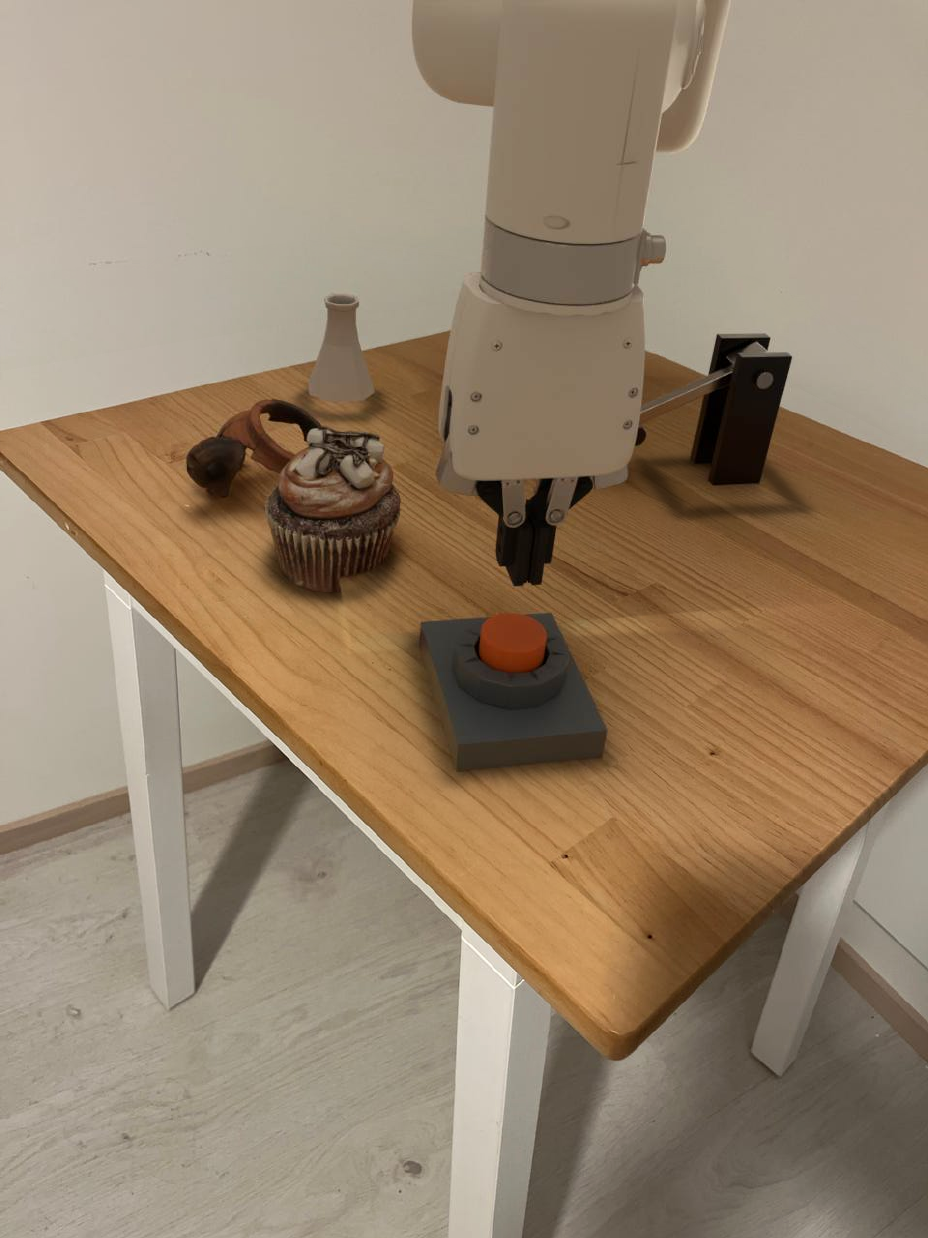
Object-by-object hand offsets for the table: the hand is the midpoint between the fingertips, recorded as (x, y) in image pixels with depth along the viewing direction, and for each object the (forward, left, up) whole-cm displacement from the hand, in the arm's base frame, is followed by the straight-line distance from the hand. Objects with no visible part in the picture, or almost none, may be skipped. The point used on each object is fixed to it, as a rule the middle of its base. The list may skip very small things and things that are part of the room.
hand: (521, 572), depth 63 cm
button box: (0, 0, -9) cm, 9 cm away
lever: (-26, +22, -2) cm, 34 cm away
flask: (-45, -5, -10) cm, 46 cm away
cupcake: (-17, -9, -10) cm, 21 cm away
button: (0, 0, -6) cm, 6 cm away
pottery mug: (-28, -14, -10) cm, 33 cm away
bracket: (-26, +26, -9) cm, 38 cm away
